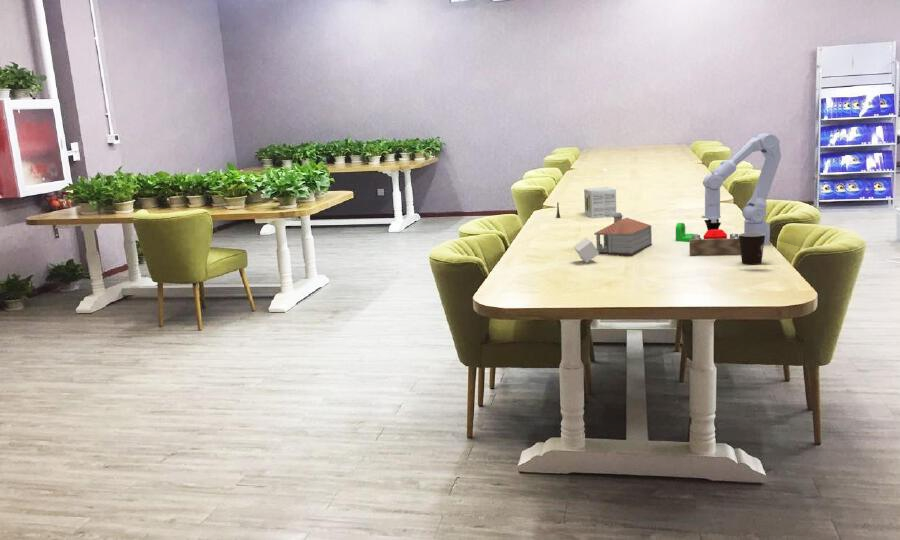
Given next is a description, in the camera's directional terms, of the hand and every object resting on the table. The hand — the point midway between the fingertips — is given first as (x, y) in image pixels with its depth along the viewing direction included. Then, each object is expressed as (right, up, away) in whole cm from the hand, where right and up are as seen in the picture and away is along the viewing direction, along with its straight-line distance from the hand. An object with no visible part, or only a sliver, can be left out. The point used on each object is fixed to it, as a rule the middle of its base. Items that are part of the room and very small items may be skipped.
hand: (712, 238), depth 305 cm
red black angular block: (-1, -5, -7) cm, 9 cm away
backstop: (-5, -7, -19) cm, 21 cm away
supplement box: (-27, +12, +87) cm, 92 cm away
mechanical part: (-4, 0, +18) cm, 18 cm away
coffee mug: (+2, -10, -37) cm, 38 cm away
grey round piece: (-3, -6, -13) cm, 14 cm away
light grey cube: (-53, -10, -16) cm, 56 cm away
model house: (-35, -5, +4) cm, 35 cm away
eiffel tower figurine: (-49, +10, +88) cm, 102 cm away
